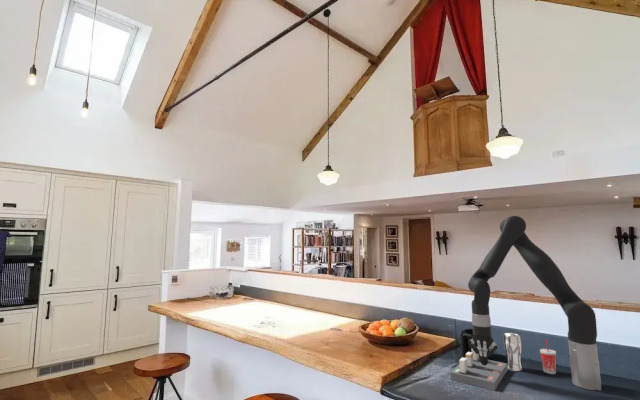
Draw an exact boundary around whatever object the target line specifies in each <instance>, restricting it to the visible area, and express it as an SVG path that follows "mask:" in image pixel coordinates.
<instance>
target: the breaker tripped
mask: <svg viewBox="0 0 640 400" xmlns="http://www.w3.org/2000/svg"><path fill="white" fill-rule="evenodd" d="M465 356H466V358H467V366H468V367H473V366H474V365H475V363H473V353H472V352H467V353H466V355H465Z"/></svg>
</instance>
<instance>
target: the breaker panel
mask: <svg viewBox="0 0 640 400" xmlns="http://www.w3.org/2000/svg"><path fill="white" fill-rule="evenodd" d="M473 363H475V365H474V366H473V367H468V366H467V367H468V370H469V372H468V373H467V374H463V373H459V372H458V371H459V370H460V364H459V363H458V365H456V366H455V368H453V369H452V370H451V371H450V380H452V381H455V382H459V383H462V384H463V383H464V384H467V385H471V386H475V387H479V388H483V389H486V390H491V391H496V389H497V388H498V386H499V384H500V383H501V382H502V380H503V378H504V377H505V375H506V374H507V372H508V370H509V369H508V368H507V363H505V362H501V361H496V360H491V359H489V360H488V364H487V365H486V366H485V365H482V363H481V362H480V360H479V361H474V360H473Z"/></svg>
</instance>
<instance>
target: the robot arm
mask: <svg viewBox="0 0 640 400" xmlns="http://www.w3.org/2000/svg"><path fill="white" fill-rule="evenodd" d="M499 229H500V232H501V233H500V234H499V237H498V239H497V240H496V242H495V244H494V245H493V246H492V247H491V248H490V250H489V251H488V253H487V254H486V255H485V257H484V259H483V261H482V262H481V264H480V265H479V267H478V269H477V270H476V271H475V272H474V273H473V275H471V277H470V278H469V280H468V283H467V286H468V289H469V290H470V291H471V292H472V293H474V294H473V299H472V301H471V324H472V329H473V337H472V339H471V340H469V341H468V344H469V345H470V346H471V348H472V349H473V350H474V352H475V353H476V354H479V355H480V362H481V363H482V365H485V366H486V365H487V364H488V356H491V355H492V356H493V354H494V353H495V351H496V350H497V349H499V348H500V345H499V344H498V343H496V342H494V339H493V334H492V323H491V322H492V321H491V315H490V306H489V304H490V298H491V287H490V284H489V282H488V281H489V280H490V279H491V278H494V277H495V276H496V274H497V273H498V271H499V270H500V268H501V266H502V264H503V262H504V260H505V259H506V257H507V255H508V253H509V252H510V250H511V249H512V248H513V247H514V248H515V249H516V250H517V252H518V253H519V255H520V256H521V258H522V259H523V260H524V262H525V264H526V265H527V266H528V267H529V269H530V270H531V271H532V273H533V274H534V275H535V277H536V278H537V279H538V280H539V281H540V283H542V284H543V286H544V287H545V288H546V289H547V290H548V291H549V292H550V293H551V294H552V295H553V296H554V299H556V301H557V302H558V304H559V305H560V307H561V309H562V311H563V312H564V314H565V316H566V317H567V324H568V332H567V340H568V342H567V343H568V350H569V360H570V361H569V363H570V372H571V381H572V384H573V385H575V386H576V387H578V388H581V389H585V390H590V391H599V392H601V391H602V380H601V372H600V371H601V369H600V361H599V354H598V344H597V338H598V331H597V330H598V327H597V318H596V313H595V311H594V309H593V307H591V306H590V305H589V304H587V303H586V302H585V301H584V300H583V299H581V298H580V297H579V296H578V295H577V293H576V292H575V291H574V290H573V289H572V288H571V286H570V285H569V283H568V282H567V280H566V277H565V276H564V274H563V273H562V271H561V270H560V268H559V267H558V265H557V264H556V263H555V262H554V260H553V259H552V258H551V256H549V255H548V254H547V253H546V252H545V251H543V249H542V248H540V247H538V246H537V245H536V244H535V243H534V242H532V240H531V239H530V238H529V237H528V235H527V234H526V232H525V231H526V229H527V223H526V221H525V219H524V218H523V217H521V216H519V215H511V216H509V217H507V218H505V219H502V221H501V222H500V224H499ZM474 342H475V344H476V345H477V346H478V348H477V347H476V346H475V344H474ZM491 344H492V350H491V351H490V352H488V348H489V347H490V346H491Z"/></svg>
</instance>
